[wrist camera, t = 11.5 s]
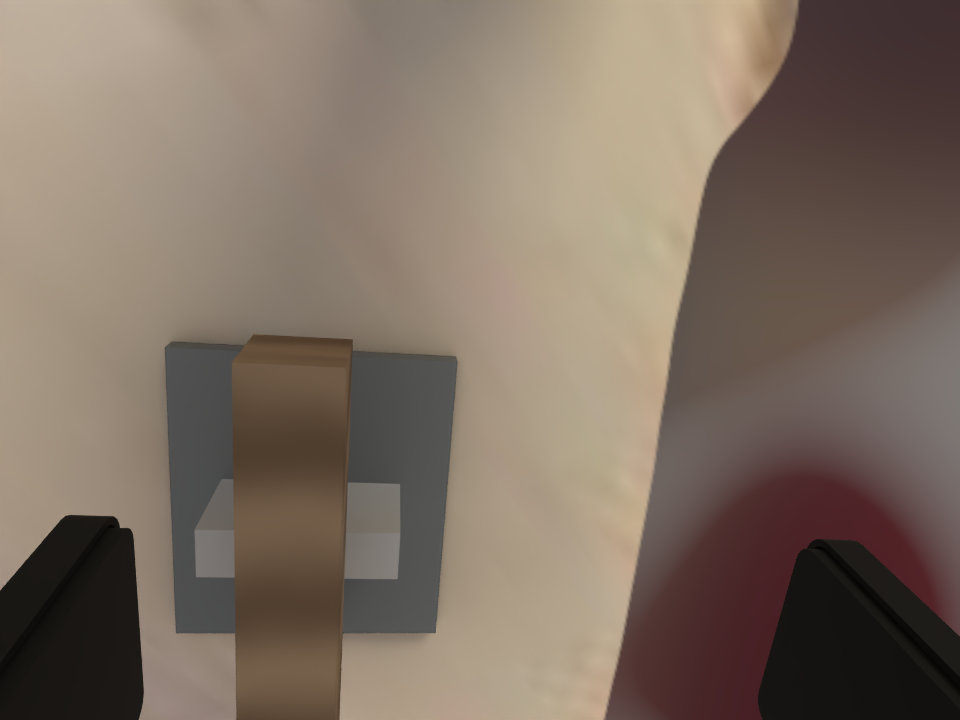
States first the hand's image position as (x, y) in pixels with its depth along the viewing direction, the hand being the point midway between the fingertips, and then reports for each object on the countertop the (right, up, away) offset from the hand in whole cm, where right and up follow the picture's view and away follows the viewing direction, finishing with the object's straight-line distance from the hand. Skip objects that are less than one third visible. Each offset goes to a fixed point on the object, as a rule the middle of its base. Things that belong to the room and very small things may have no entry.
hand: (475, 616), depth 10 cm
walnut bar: (-8, -5, +22) cm, 24 cm away
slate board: (-9, -4, +28) cm, 29 cm away
